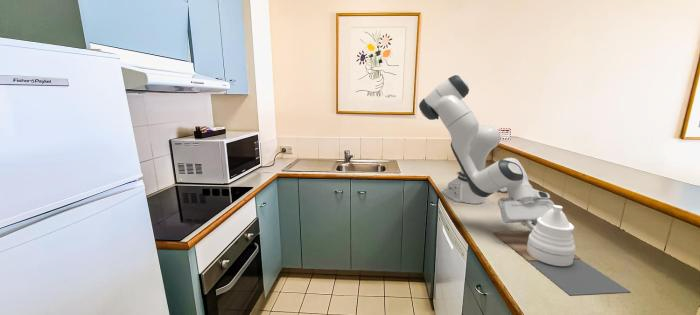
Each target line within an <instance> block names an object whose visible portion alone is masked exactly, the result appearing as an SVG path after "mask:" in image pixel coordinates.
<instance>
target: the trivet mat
mask: <svg viewBox="0 0 700 315" xmlns="http://www.w3.org/2000/svg"><path fill="white" fill-rule="evenodd" d="M528 263H529V264H531V266H533V267H534V268H535V269H537V270H538V271H539V272H540V273H541V274H542V275H543V276H545V277H546V278H547V279H549V280H550V281H551V282H552V283H554V285H556V287H559V288H560V289H561V290H562V291H564V293H566V294H567V295H568V296H571V297H572V296H589V295H591V296H592V295H606V294H607V295H608V294H609V295H610V294H624V293H625V294H626V293H631V291H630V290H629V289H627V288H626V287H624V286H623V285H621V284H620V283H618V282H616V281H615V280H614V279H612V278H610V277H609V276H608V275H605V274H604V273H602V272H601V271H599V270H597V269H596V268H595V267H593V266H592V265H590V264H588V263H587V262H585V261H583V259H581V258H580V259H574V260H573V263H572V264H571V265H569V266H555V265H551V264H547V263H544V262H541V261H529V262H528Z"/></svg>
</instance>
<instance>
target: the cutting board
mask: <svg viewBox="0 0 700 315" xmlns="http://www.w3.org/2000/svg"><path fill="white" fill-rule="evenodd" d="M530 233H531V230H530V229H529V230H508V231H503V230H502V231H493V234H494V235H495V236H496V237H497V238H499V239H500V240H502V241H503V243H505V245H507V246H509V248H511V250H513V251H515V252H516V253H517V254H518V255H519V256H521V258H523V259H525V261H527V263H529V261H539V260H537V259H535V258H533V257H532V256H531V255H529V254H528V252H527V243H528V239H529V235H530ZM574 259H581V257H580V256H578V255H576V254H575V253H574ZM574 259H573V260H574Z"/></svg>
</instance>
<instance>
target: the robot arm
mask: <svg viewBox="0 0 700 315" xmlns="http://www.w3.org/2000/svg"><path fill="white" fill-rule="evenodd" d="M469 92H470V87H469V84H468V82H467V80H466V79H465V78H463V77H462V76H459V75H458V74H457V75H456V74H454V75H452V76H450V77H448V79H447V80H445V81H443V82H442V83H440V84H439V85H437V86H436V87H435V88H434V89H433V90H432V91H431V92H429V94H428V95H427V96H425V98H423V99H422V100H420V102H419V104H418V108H419V110H420V113H421V114H422V115H423V117H425V119H428V120H429V121H434V120H439V118H440V120H441V121H442V123H443V125H444V126H445V128H446V129H447V130H448V132H449V135H450V139H451V142H450V147H451V151H452V153H453V155H454V157H455V159H456V161H457V163H458V165H459V168H460V171H456V175H457V177H456V178H455V179H452V180H451V181H449V182H448V183H447V186H446V189H443V190H441V192H442V194H444V196H447V197H448V198H450V199H451V200H453V201H454V202H458V203H466V204H472V205H473V204H475V205H476V204H478V205H479V204H483V203H485V202H486V201H485V198H488V197H490V196H492V195H493V194H495V192H498V191H499V190H500V189H502V188H504V187H506V188H507V191H506V194H507V196H508V197H500V199H498V200H497V204H498V206H499V210H500V212H499V213H500V215H501V216H500V217H501V219H502V221H503V222H504V223H506V224H512V223H513V224H514V223H515V224H517V223H521V222H524V223H525V225H526V226H525V225H524V226H525V227H526V228H527V229H528V230H529V231H530V230H531V232H532V230H533V228H534V226H533V225H532V224H531V223H532V222H534V224H535V225H536V224H537V223H538V222H537V219H538V218H539V217H542V216H543V215H544V214H545V213H546V212H547V211H548V210H550V209H552V208H553V205H556V204H555V203H554V201H552V200H551V195H550V194H549V193H548V192H544V191H543V190H542V191H541V190H538V189H535V188H534V187H533V185H531V183H530V182H529V177H528V174H527V172H526V170H525V169H524V166H523V165H522V163H521V162H520V161H519V160H518V159H517V158H515V157H507V158H503V159H500V160H498V161H495V162H494V163H492V164H490V165H489V166H487V167H486V163H487V157H488V156H489V154H490V152H491V151H492V150H493V149H495V148H496V147H498V146H499V144H500V142H501V137H502V136H501V132H500V131H499V130H498V129H496V128H494V127H491V126H489V125H481V124H480V123H479V121H478V119H477V117H476V116H475V114H474V113H473V111H472V110H471V108H469V106H468V105H467V104H466V102H465V101H464V100H463V99H465V97H467V96H468V94H469Z"/></svg>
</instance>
